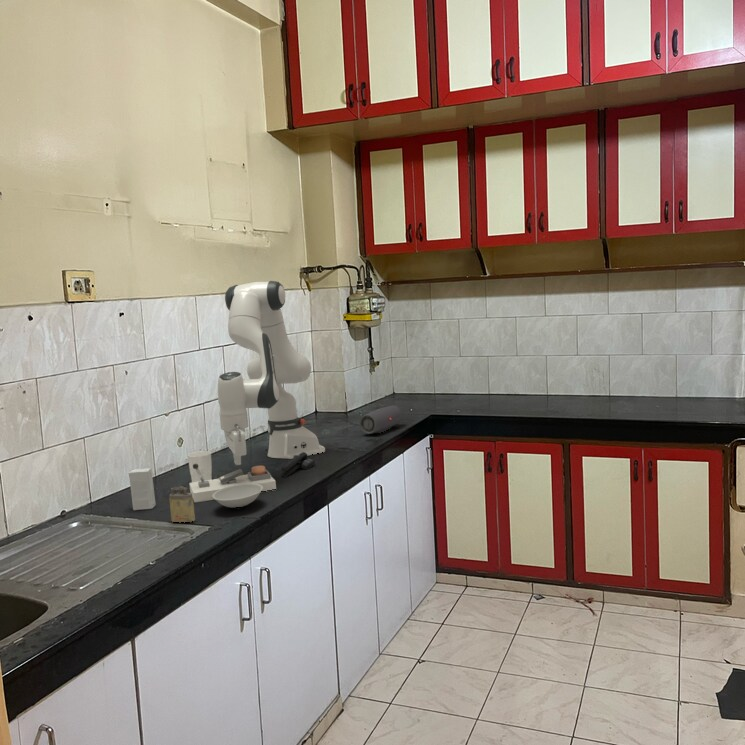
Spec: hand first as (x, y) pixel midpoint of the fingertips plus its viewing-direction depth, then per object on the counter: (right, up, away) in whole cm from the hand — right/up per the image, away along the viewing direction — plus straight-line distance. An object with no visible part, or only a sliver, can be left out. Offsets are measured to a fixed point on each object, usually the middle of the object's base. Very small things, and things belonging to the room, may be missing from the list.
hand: (237, 464), depth 243 cm
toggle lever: (-10, -6, -3) cm, 12 cm away
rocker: (-2, -4, 0) cm, 5 cm away
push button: (+7, -4, +3) cm, 8 cm away
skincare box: (-27, -12, -12) cm, 32 cm away
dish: (+4, -11, -19) cm, 22 cm away
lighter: (-10, -13, -29) cm, 33 cm away
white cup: (-15, -8, +15) cm, 23 cm away
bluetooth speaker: (+48, +4, +81) cm, 94 cm away
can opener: (+17, -6, +21) cm, 28 cm away
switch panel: (-2, -9, 0) cm, 9 cm away
